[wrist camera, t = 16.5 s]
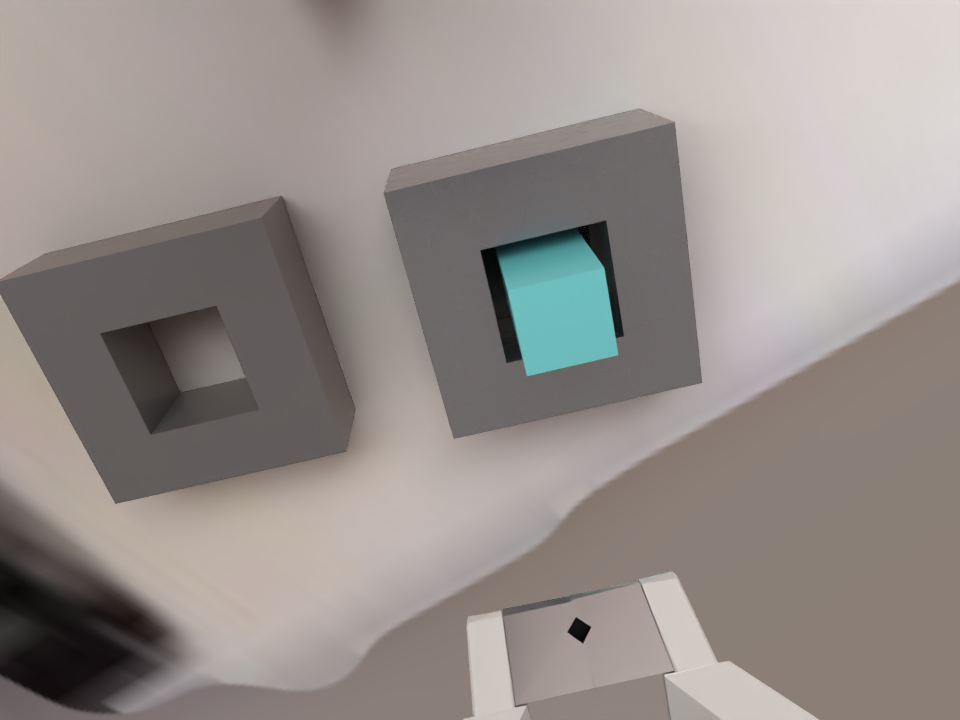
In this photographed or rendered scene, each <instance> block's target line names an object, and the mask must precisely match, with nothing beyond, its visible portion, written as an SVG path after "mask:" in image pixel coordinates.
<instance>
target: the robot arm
mask: <svg viewBox="0 0 960 720" xmlns="http://www.w3.org/2000/svg"><path fill="white" fill-rule="evenodd" d="M466 627H467V641H468V654H469V667H470V681H471V694H472V707H473V717H470V718H466V719H463V720H819V719H818V718H816V717H814V716H813V715H811V714H810V713H808V712H807V711H805V710H804V709H802V708H801V707H799V706H798V705H796V704H795V703H793V702H791V701H790V700H788V699H787V698H785V697H784V696H782V695H780V694H779V693H778V692H776V691H775V690H773V689H772V688H770V687H769V686H767V685H765V684H764V683H762V682H761V681H759V680H758V679H756V678H755V677H753V676H752V675H750V674H748V673H747V672H746V671H744V670H742V669H741V668H739V667H738V666H736V665H735V664H733V663H732V662H730V661H726V662H720V663H718V662H717V660H716V658H715V655H714V653H713V651H712V649H711V647H710V645H709V642H708V640H707V638H706V636H705V634H704V632H703V630H702V628H701V625H700V624H699V621H698V619H697V617H696V615H695V613H694V611H693V609H692V607H691V604H690V602H689V600H688V598H687V596H686V594H685V592H684V589H683V588H682V585H681V583H680V581H679V579H678V577H677V576H676V574H674V573H673V572H668V573H663V574H659V575H655V576H651V577H646V578H642V579H638V581H637V580H634V581H630V582H625V583H622V584H617V585H613V586H608V587H604V588H600V589H595V590H591V591H587V592H583V593H578V594H575V595H570V596H567V597H562V598H557V599H552V600H547V601H542V602H537V603H532V604H527V605H522V606H517V607H511V608H506V609H503V610H501V611H496V612H490V613H485V614H480V615H475V616H469V617H468V620H467V626H466Z"/></svg>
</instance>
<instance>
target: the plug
mask: <svg viewBox="0 0 960 720" xmlns="http://www.w3.org/2000/svg"><path fill="white" fill-rule="evenodd" d="M495 251H496V255H497V260H498V264H499V268H500V273H501V277H502V282H503V286H504V290H505V295H506V299H507V303H508V307H509V311H510V315H511V318H512V322H513V326H514V330H515V333H516V337H517V341H518V345H519V348H520V352H521V356H522V360H523V363H524V367H525V371H526V375H527V376H531V375H535V374H539V373H544V372H548V371H552V370H556V369H561V368H565V367H569V366H574V365H578V364H582V363H587V362H591V361H595V360H600V359H604V358H608V357H613V356H617V355H618V350H617V344H616V337H615V331H614V325H613V319H612V313H611V306H610V300H609V294H608V288H607V282H606V275H605V269H604V267H603V265H602V264H601V262H600V261H599V260H598V258H597V257H596V255H595V254H594V253H593V251H592V250H591V248H590V247H589V246H588V244H587V243H586V241H585V240H584V239H583V237H582V236H581V234H580V233H579V232H578V230H577V229H576V228H572V229H567V230H563V231H559V232H555V233H551V234H546V235H542V236H538V237H534V238H529V239H525V240H521V241H517V242H513V243H508V244H504V245H500V246H496V247H495Z"/></svg>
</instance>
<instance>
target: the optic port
mask: <svg viewBox="0 0 960 720" xmlns="http://www.w3.org/2000/svg"><path fill="white" fill-rule="evenodd" d="M384 195H385V199H386V202H387V206H388V209H389V213H390V216H391V220H392V223H393V227H394V231H395V234H396V238H397V241H398V245H399V248H400V252H401V255H402V259H403V262H404V266H405V269H406V273H407V276H408V280H409V283H410V287H411V290H412V294H413V297H414V301H415V304H416V308H417V311H418V315H419V318H420V322H421V325H422V329H423V332H424V336H425V339H426V343H427V346H428V350H429V353H430V357H431V360H432V364H433V367H434V371H435V374H436V378H437V381H438V385H439V388H440V392H441V395H442V399H443V402H444V406H445V409H446V413H447V416H448V420H449V423H450V427H451V430H452V434H453V437H454V439H455V438H460V437H464V436H468V435H473V434H477V433H482V432H486V431H491V430H495V429H499V428H504V427H508V426H513V425H517V424H522V423H526V422H530V421H535V420H539V419H544V418H548V417H553V416H557V415H561V414H566V413H570V412H575V411H579V410H584V409H588V408H592V407H597V406H601V405H606V404H610V403H615V402H619V401H623V400H628V399H632V398H637V397H641V396H646V395H650V394H654V393H659V392H663V391H668V390H672V389H677V388H681V387H685V386H690V385H694V384H699V383H702V377H701V368H700V358H699V349H698V339H697V330H696V320H695V311H694V301H693V291H692V282H691V272H690V263H689V253H688V244H687V234H686V225H685V215H684V206H683V196H682V187H681V177H680V168H679V158H678V149H677V139H676V130H675V122H673V121H670V120H668V119H665V118H663V117H660V116H657V115H655V114H652V113H650V112H647V111H644V110H642V109H636V110H632V111H628V112H623V113H619V114H615V115H611V116H607V117H603V118H599V119H595V120H591V121H587V122H582V123H578V124H574V125H570V126H566V127H562V128H558V129H554V130H550V131H546V132H542V133H537V134H533V135H529V136H525V137H521V138H517V139H513V140H509V141H505V142H501V143H496V144H492V145H488V146H484V147H480V148H476V149H472V150H468V151H464V152H460V153H456V154H451V155H447V156H443V157H439V158H435V159H431V160H427V161H423V162H419V163H415V164H411V165H406V166H402V167H398V168H394V169H391V172H390V175H389V178H388V181H387V184H386V188H385V191H384ZM584 225H588V231H589V237H590V243H591V249H592V251H593V253H594V254H595V255H596V257H597V258H598V260H599V261H600V262H601V264H602V265H603V267H604V269H605V275H606V282H607V288H608V294H609V300H610V306H611V313H612V319H613V325H614V331H615V337H616V344H617V350H618V355H617V356H613V357H608V358H604V359H600V360H595V361H591V362H587V363H582V364H578V365H574V366H569V367H565V368H561V369H556V370H552V371H548V372H544V373H539V374H535V375H531V376H527V375H526V371H525V367H524V363H523V360H522V356H521V352H520V348H519V345H518V341H517V337H516V333H515V330H514V326H513V322H512V318H511V316H509V317H505V318H501V319H497V316H496V311H495V307H494V303H493V299H492V294H491V290H490V286H489V281H488V277H487V273H486V269H485V264H484V260H483V256H482V252H481V250H483V249H487V248H492V247H496V246H500V245H504V244H508V243H513V242H517V241H521V240H525V239H529V238H534V237H538V236H542V235H546V234H551V233H555V232H559V231H563V230H567V229H572V228H576V227H580V226H584Z"/></svg>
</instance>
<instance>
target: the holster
mask: <svg viewBox="0 0 960 720" xmlns="http://www.w3.org/2000/svg"><path fill="white" fill-rule="evenodd" d="M0 294H1V296H2V298H3V300H4V302H5V303H6V305H7V307H8V309H9V311H10V313H11V314H12V316H13V318H14V320H15V322H16V323H17V325H18V327H19V329H20V331H21V333H22V334H23V336H24V338H25V340H26V342H27V343H28V345H29V347H30V349H31V351H32V353H33V354H34V356H35V358H36V360H37V362H38V363H39V365H40V367H41V369H42V371H43V373H44V374H45V376H46V378H47V380H48V382H49V383H50V385H51V387H52V389H53V391H54V393H55V394H56V396H57V398H58V400H59V402H60V403H61V405H62V407H63V409H64V411H65V413H66V414H67V416H68V418H69V420H70V422H71V423H72V425H73V427H74V429H75V431H76V433H77V434H78V436H79V438H80V440H81V442H82V443H83V445H84V447H85V449H86V451H87V453H88V454H89V456H90V458H91V460H92V462H93V463H94V465H95V467H96V469H97V471H98V473H99V474H100V476H101V478H102V480H103V482H104V484H105V485H106V487H107V489H108V491H109V493H110V494H111V496H112V498H113V500H114V502H115V504H117V503H121V502H126V501H130V500H134V499H139V498H143V497H148V496H152V495H156V494H161V493H165V492H170V491H174V490H179V489H183V488H187V487H192V486H196V485H201V484H205V483H209V482H214V481H218V480H223V479H227V478H232V477H236V476H240V475H245V474H249V473H254V472H258V471H262V470H267V469H271V468H276V467H280V466H285V465H289V464H293V463H298V462H302V461H307V460H311V459H315V458H320V457H324V456H329V455H333V454H337V453H342V452H346V450H347V446H348V441H349V436H350V432H351V427H352V422H353V418H354V413H355V407H354V404H353V401H352V398H351V395H350V392H349V389H348V386H347V384H346V381H345V378H344V375H343V372H342V369H341V366H340V363H339V361H338V358H337V355H336V352H335V349H334V346H333V343H332V340H331V337H330V335H329V332H328V329H327V326H326V323H325V320H324V317H323V314H322V312H321V309H320V306H319V303H318V300H317V297H316V294H315V291H314V289H313V286H312V283H311V280H310V277H309V274H308V271H307V268H306V266H305V263H304V260H303V257H302V254H301V251H300V248H299V245H298V243H297V240H296V237H295V234H294V231H293V228H292V225H291V222H290V219H289V217H288V214H287V211H286V208H285V205H284V202H283V199H282V196H279V197H275V198H271V199H267V200H263V201H259V202H255V203H251V204H247V205H243V206H239V207H234V208H230V209H226V210H222V211H218V212H214V213H210V214H206V215H202V216H198V217H194V218H189V219H185V220H181V221H177V222H173V223H169V224H165V225H161V226H157V227H153V228H148V229H144V230H140V231H136V232H132V233H128V234H124V235H120V236H116V237H112V238H108V239H103V240H99V241H95V242H91V243H87V244H83V245H79V246H75V247H71V248H67V249H62V250H58V251H54V252H50V253H46V254H43V255H42V256H40V257H38V258H36V259H35V260H33V261H31V262H29V263H28V264H26V265H24V266H22V267H21V268H19V269H17V270H15V271H14V272H12V273H10V274H8V275H7V276H5V277H3V278H1V279H0ZM213 306H217V309H218V311H219V313H220V316H221V318H222V321H223V323H224V326H225V328H226V330H227V333H228V335H229V338H230V340H231V342H232V345H233V347H234V350H235V352H236V355H237V357H238V359H239V362H240V364H241V367H242V369H243V371H244V374H245V376H246V378H243V379H239V380H234V381H230V382H226V383H222V384H217V385H213V386H209V387H204V388H200V389H196V390H191V391H187V392H183V393H180V392H179V389H178V387H177V385H176V383H175V381H174V379H173V377H172V374H171V372H170V370H169V368H168V366H167V364H166V361H165V359H164V357H163V355H162V353H161V351H160V349H159V346H158V344H157V342H156V340H155V338H154V336H153V333H152V331H151V329H150V327H149V325H148V323H147V322H150V321H154V320H158V319H163V318H167V317H171V316H175V315H179V314H184V313H188V312H192V311H196V310H200V309H205V308H209V307H213Z"/></svg>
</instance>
